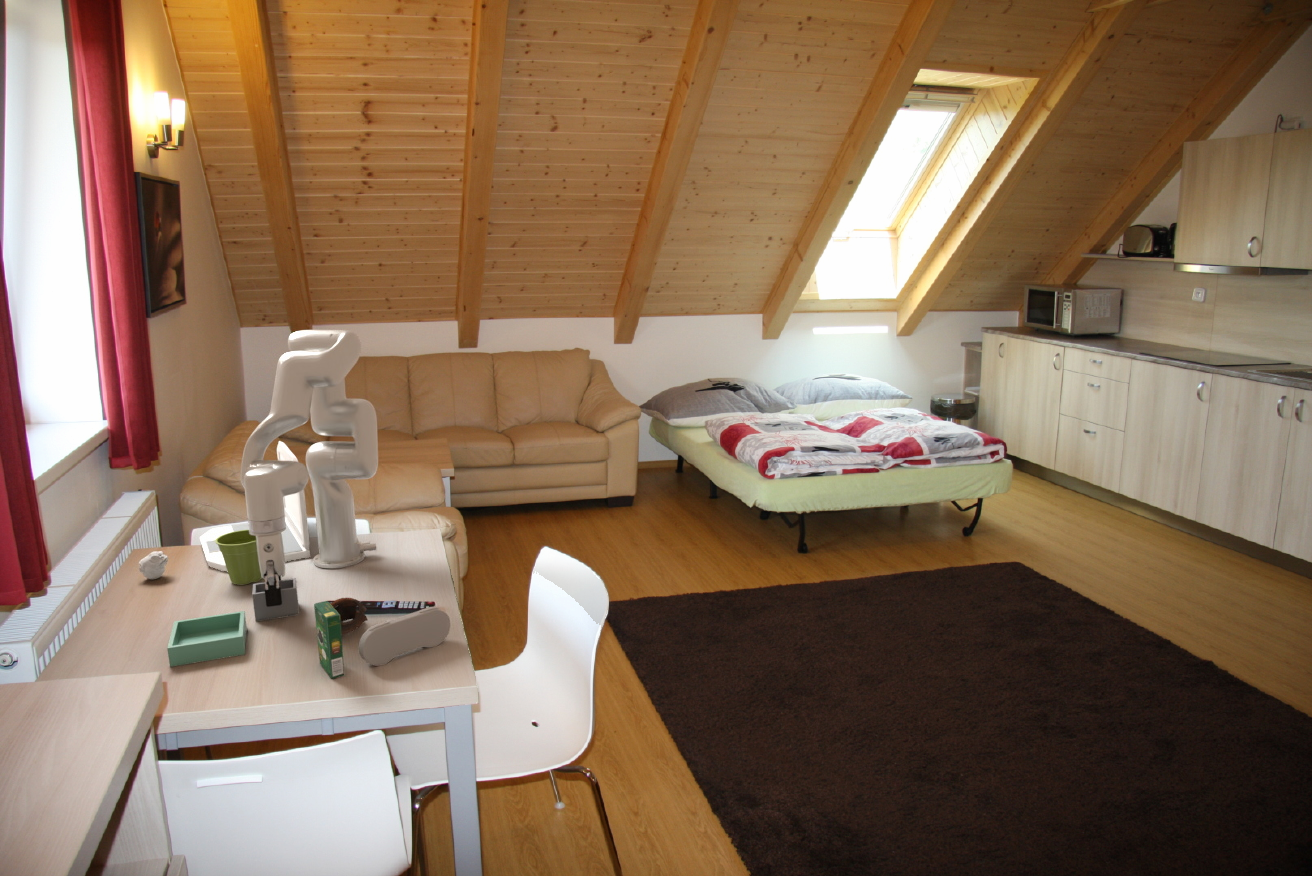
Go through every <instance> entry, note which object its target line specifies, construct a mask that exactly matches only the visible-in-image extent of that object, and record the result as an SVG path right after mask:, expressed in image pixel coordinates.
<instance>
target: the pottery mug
mask: <svg viewBox="0 0 1312 876" xmlns="http://www.w3.org/2000/svg"><path fill="white" fill-rule="evenodd" d="M329 603H330V604H331V605H332V606H333V608H334V609H335V610H336V611H337V612H338V613H339V614H340V622H341V636H345V635H348V634H350V633H352V632H355V631H357V628H358V629H360V627H362V625H363V624H364V622H365V623H366V622H367V621H369V620H368V618H367V616H366V614H365V613H366V611H367V607H365V606H364V605H363V603H362V602H360V601H359V600H358V599H355V598H353V597H341V598H337V599H335V600H333V602H332V603H331V602H329ZM357 607H358V610H357Z"/></svg>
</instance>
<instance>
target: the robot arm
mask: <svg viewBox="0 0 1312 876" xmlns="http://www.w3.org/2000/svg"><path fill="white" fill-rule="evenodd" d="M287 347H288V350H289V351H288V352H285V353H284V354H283V353H282V355H281V356H280V357H279V359H278V361H277V365H276V369H275V370H276V373H275V379H274V384H273V385H274V386H273V390H272V396H271V397H272V398H271V405H270V411H269V413H268V416H266V418H264V419H263V420H262V421H261V422H260V423H259V424H258V425H257V426H256V428H255V429H254V430H253V432H252V433H251V434H250V436H249V437H248V438H247V440H246V442H245V445H244V448H243V453H242V458H241V463H240V474H239V475H240V483H241V485H242V487H243V489H244V495H245V505H246V506H245V507H246V515H247V523H248V526H249V534H251V535H254V536H256V545H257V553H258V561H259V566H260V572H261V577H262V579H264V582H265V588H266V589H265V598H266V606H267V607H271V606H278V605H282V597H281V587H279V580H282V578H283V577H285V576H286V562H285V559H284V548H283V539H282V533H281V532H283V531H285V530H286V523H285V512H284V502H283V497H284V496H287V495H292V494H296V493H298V492H300V491H301V490H303V489H304V490H305V488H306V486H307V485H308V482H309V480H310V483H311V488H312V494H313V503H314V504H313V505H314V515H315V523H316V533H317V535H316V536H317V543H318V545H317V546H318V554H316V555H315V556H314V557H313V565H315V566H316V567H319V568H321V569H322V568H323V569H340V568H341V569H342V568H346V567H351V566H353V565H357V564H359V563H361V562H362V561H363V560H364V559H365V556H366V555H365V552H368V551H369V552H371V551H377V543H376V542H371V541H364V542H361V541H359V538H358V536H357V526H356V525H357V523H356V515H355V514H356V513H355V503H354V502H355V501H354V495H353V490H352V488H351V486H350V484H349V483H348V481H346V480H368V479H371V478H373V477H374V476H375V475H376V473H377V470H378V465H379V443H378V441H379V440H378V438H379V437H378V417H377V411H376V409H375V407H374V405H373V404H372V402H370V401H369V400H367V399H364V398H347V395H346V381H345V378H346V377H347V375H348V374H349V373H350V371H351V370H352V369H353V367H354V366H355V365H356V364H357V362H358V361H359V358H360V357H361V353H362V343H361V339H360V338H359V336H358V334H357V333H355V332H354V331H352V330H348V329H347V330H346V329H302V330H297V331H295V332H292V333H290V335H289V336H288V338H287ZM309 419H310V420H309ZM308 421H310V425H311V428H312V430H313V432H314V433H315V434H317V435H320V436H325V437H353V441H345V440H344V441H343V440H341V441H340V440H337V441H335V440H333V441H331V440H329V441H328V440H325V441H324V440H323V441H318V442H316V443H313V444H312V445H311V446H309V447H308V448H307V450H306V453H305V464H304V463H303V462H299V461H298V462H297V461H279V460H278V459H277V460H276V459H273V460H272V459H264V457H265V454H266V450H267V449H268V447H269V446H270V444H272V442H273V441H274V440H276V439H277V438H278V437H280V436H282V435H284V434H286V433H287V432H289V431H291V430H294V429H296V428H298V427H301V426H303V425H305V424H306V423H307V422H308Z"/></svg>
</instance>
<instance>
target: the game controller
mask: <svg viewBox="0 0 1312 876" xmlns="http://www.w3.org/2000/svg"><path fill="white" fill-rule="evenodd" d="M450 629H451V620H450V616H449V615H448V614H447V613H446V611H444V610H442V609H440V608H439V607H438V606H430V607H426V608H423V609H419V610H417V611H414V612H411V613H408V614H405V615H402V616H399V617H395V618H393V619H390V620H385V621H382V622H379V623H376V624H374V625H372V626H371V627H369V628H368V629H366V630H365V632H364V633H363V634H362V635H361V637H360V639H359V642H358V654H359V655H360V657H361V659H362V660H364V662H365V663H367V664H369V665H371V666H374V667H379V666H383V665H386V664H389V663H390V662H391V661H392V660H393V659H394V658H396V657H397V656H400V655H402V654H405V653H408V652H411V651H413V650H417V649H419V648H422V647H423V648H433V647H437V646H439V645H441V643H443V642H444V641H445V640H446V639H447V637H448V635H449V633H450Z"/></svg>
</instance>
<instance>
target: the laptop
mask: <svg viewBox="0 0 1312 876" xmlns="http://www.w3.org/2000/svg"><path fill="white" fill-rule="evenodd" d="M276 454H277V460H279V461H297V462H299V460H298V457H296V455H295V454H294V453H293V452H292V451H291V450H290V448H289V447H288V445H287V444H286V443H285V442H283V441H281V440H279V441H278V444H277V446H276ZM305 495H306V494H305V488H304V489H303V490H301V491H300V492H298V493H296V494H292V495H287V496H284V497H283V502H284V512H285V523H286V530H285V531H283V532H281V533H282V539H283V548H284V559H285V563H288V562H292V561H291V560H294V561H297V560H296V559H299V560H302V559H301V558H305V559H309V557H310V558H311V551H310V535H309V534H310V533H309V525H308V515H307V514H308V513H307V506H306V496H305ZM240 530H249V526H248V522H244V523H237V524H231V525H228V526H227V525H226V526H220V527H213V528H211V529H209V530H208V531H206V532H205V533H203V534H202V535H201V536H199V540H200V544H201V547H202V550H203V552H204V556H205V560H206V563H207V565H208V567H209V566H210V567H213V568H216V569H215V570H217V569H218V570H217V571H220V570H222V571H221V572H224V571H228V570H227V567H226V564H225V561H224V558H223V555H222V552H221V551H220V549H219V546H218V544H216V543H215V539H216V538H217V537H219V536H221V535H224V534H226V533H230V532H234V531H240ZM287 561H288V562H287ZM213 568H212V569H213Z"/></svg>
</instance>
